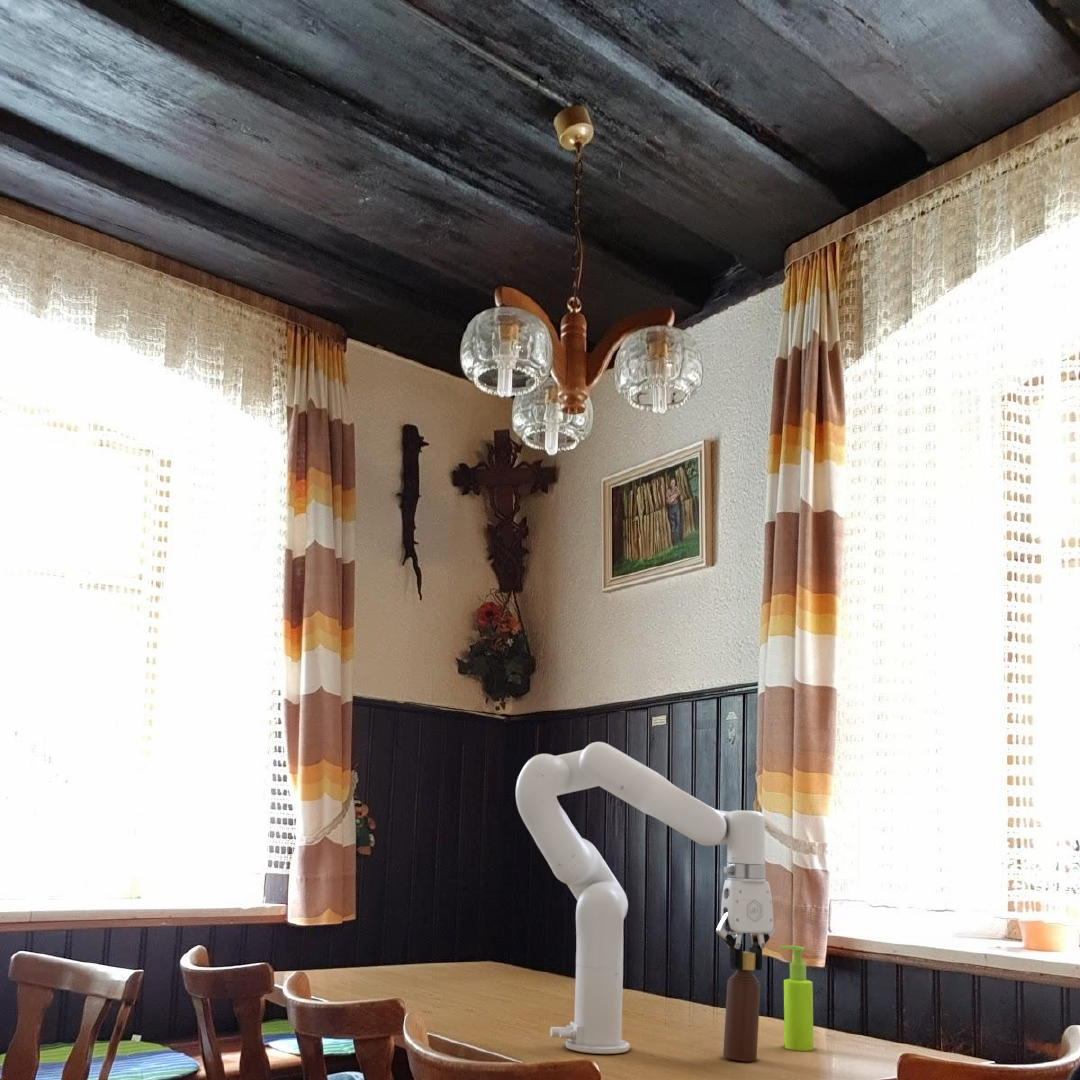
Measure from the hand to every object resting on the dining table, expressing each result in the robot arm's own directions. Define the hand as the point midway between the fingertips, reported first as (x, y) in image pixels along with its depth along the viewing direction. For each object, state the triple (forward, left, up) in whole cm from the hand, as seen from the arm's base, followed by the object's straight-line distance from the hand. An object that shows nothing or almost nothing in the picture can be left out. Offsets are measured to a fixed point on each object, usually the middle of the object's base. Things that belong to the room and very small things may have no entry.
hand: (746, 968), depth 232 cm
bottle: (-1, 0, -17) cm, 17 cm away
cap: (0, 0, 0) cm, 0 cm away
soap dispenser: (+16, +12, -17) cm, 26 cm away
